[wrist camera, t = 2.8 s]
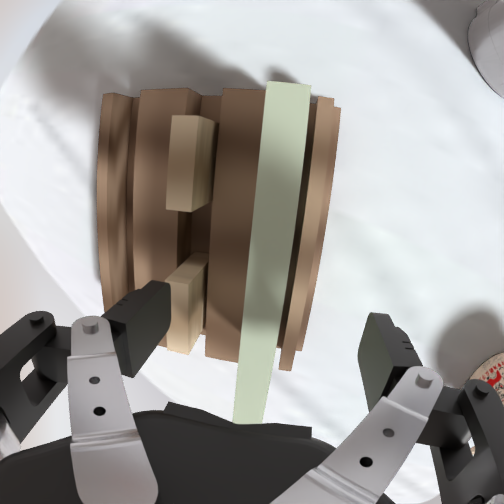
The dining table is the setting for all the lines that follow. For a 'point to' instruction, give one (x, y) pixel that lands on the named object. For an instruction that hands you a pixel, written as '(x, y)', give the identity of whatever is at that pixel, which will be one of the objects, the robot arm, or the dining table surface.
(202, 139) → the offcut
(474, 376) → the teacup with lid
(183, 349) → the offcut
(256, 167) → the rack
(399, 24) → the dining table surface
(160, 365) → the dining table surface
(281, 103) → the panel
